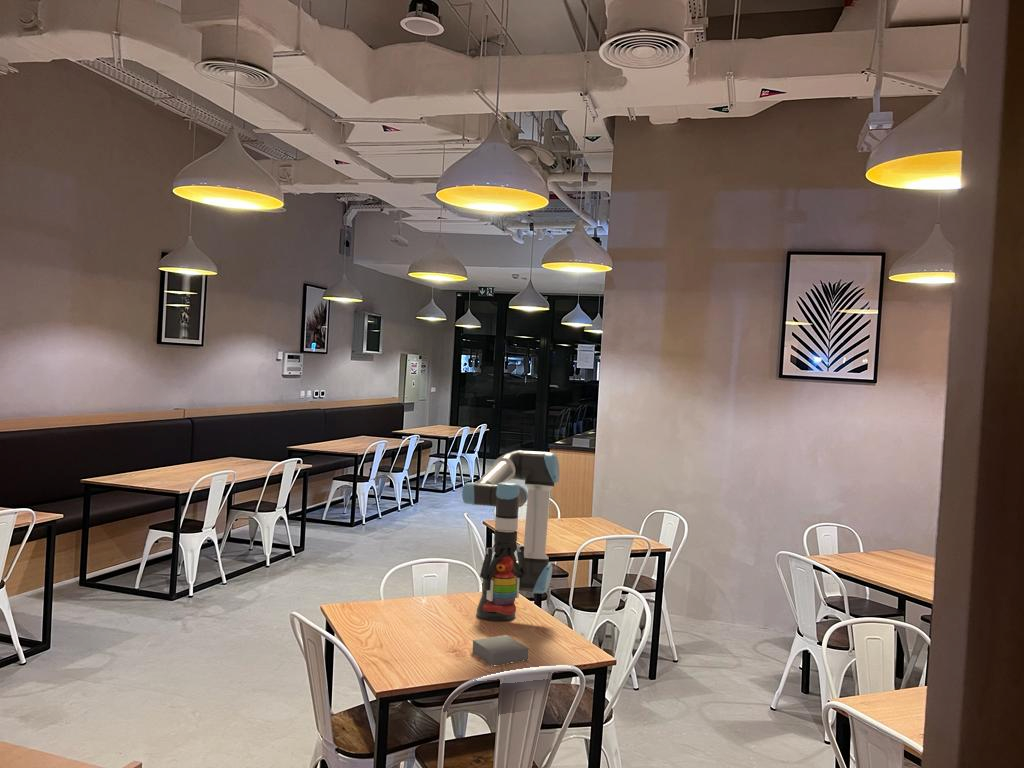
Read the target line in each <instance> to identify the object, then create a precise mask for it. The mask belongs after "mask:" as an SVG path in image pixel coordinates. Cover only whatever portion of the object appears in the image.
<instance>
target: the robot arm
mask: <svg viewBox="0 0 1024 768" xmlns="http://www.w3.org/2000/svg"><path fill="white" fill-rule="evenodd" d="M557 456H558V455H556V454H555V453H553V452H548V451H534V450H521V449H519V450H513V451H509V452H507V453H504V454H502V455H501V456H499V457H497V458H496V459H495V460H494V461H493V463H492V465H491V468H489V470H487V471H486V472H485V473H484V474H483V475H482V476H481V477H480V479H478V480H477V481H476V482H473V481H472V482H465V483H464V485H463V486H462V492H461V497H462V498H461V499H462V502H463V503H464V504H467V505H473V506H483V507H484V506H487V507H495V515H494V516H495V517H494V519H495V520H494V529H495V530H494V533H493V535H494V537H493V541H494V545H493V546H492V547H485V549H484V550H485V551H484V552H485V555H484V559H483V563H482V566H481V570H480V574H479V577H480V578H481V579H482V590H481V591H482V592H481V596H480V599H479V602H478V605H477V608H476V616H477V617H478V618H480V619H482V620H487V621H493V622H495V621H496V622H498V621H499V622H503V621H509V620H513V619H514V618H516V612H515V613H514V614H511V615H507V614H502V613H499V612H487V611H484V610H482V607H483V605H484V604H486V603H487V602H489V601H493V580H491V579H492V577H493V575H494V573H495V571H496V565H497V564H498V562H501V560H502V558H503V557H505V556H510V555H511V556H513V557H514V560H513V562H514V566H513V569H512V571H511V572H512V573H513V574H514V576H515V579H516V584H517V593H516V598H515V599H519V597H520V595H519V594H520V592H524V593H532V594H545V593H546V592H547V591H548V589H549V587H550V583H551V581H552V575H553V564H552V563H551V562H549V556H548V555H547V553H546V549H547V548H546V547H547V534H548V524H549V523H548V522H549V521H548V519H549V507H550V506H549V505H550V493H551V491H552V490H553V489H554V488H555V484H556V483H558V482H559V481H560V464H559V460H558V457H557ZM510 480H511V481H512V480H520V481H524V486H525V487H526V488H527V489H526V488H525V487H524V486H523V485H520V484H519V483H516V482H509V481H510ZM525 504H526V512H525V526H524V538H523V545H521V544H517V542H518V532H517V530H518V528H519V527H518V525H519V524H518V523H519V508H522V507H523V506H525ZM515 553H516V554H515ZM516 555H517V558H516ZM497 557H498V558H497Z"/></svg>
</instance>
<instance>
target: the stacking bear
mask: <svg viewBox="0 0 1024 768" xmlns="http://www.w3.org/2000/svg"><path fill="white" fill-rule="evenodd" d="M497 558H498V557H497ZM513 560H514V557H513V556H511V555H510V556H505V557H503V558H502V560H501V562H498V564H497V565H496V571H495V573H494V575H493V577H492V579H491V580H493V601H489V602H487V603H486V604H484V605H483V607H482V610H484V611H487V612H499V613H502V614H507V615H511V614H514V613H515V614H516V612H517V606H516V604H515V601H516V599H517V598H516V593H517V584H516V579H515V576H514V574H513V573H512V572H511V571H512V569H513V566H514V562H513Z"/></svg>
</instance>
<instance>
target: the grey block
mask: <svg viewBox="0 0 1024 768" xmlns="http://www.w3.org/2000/svg"><path fill="white" fill-rule="evenodd" d="M529 649H530V648H529V647H528V646H526V645H524V644H522V643H521V642H520V641H517V640H516V639H514V638H512V637H511V636H509V635H508V634H504V635H498V636H491V637H485V638H477V639H473V640H472V653H473V654H474V655H476V656H477V657H479V658H481V659H482V660H483V661H484V662H486V663H488V664H489V663H490V664H492V665H493V666H494V665H500V666H503V665H502V664H505V665H508V664H507V663H511V662H517V663H519V662H518V661H522V662H524V661H523V660H528V661H529ZM490 664H489V665H490ZM511 664H512V663H511ZM492 665H491V666H492ZM493 666H492V667H493ZM494 667H495V666H494Z"/></svg>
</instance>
